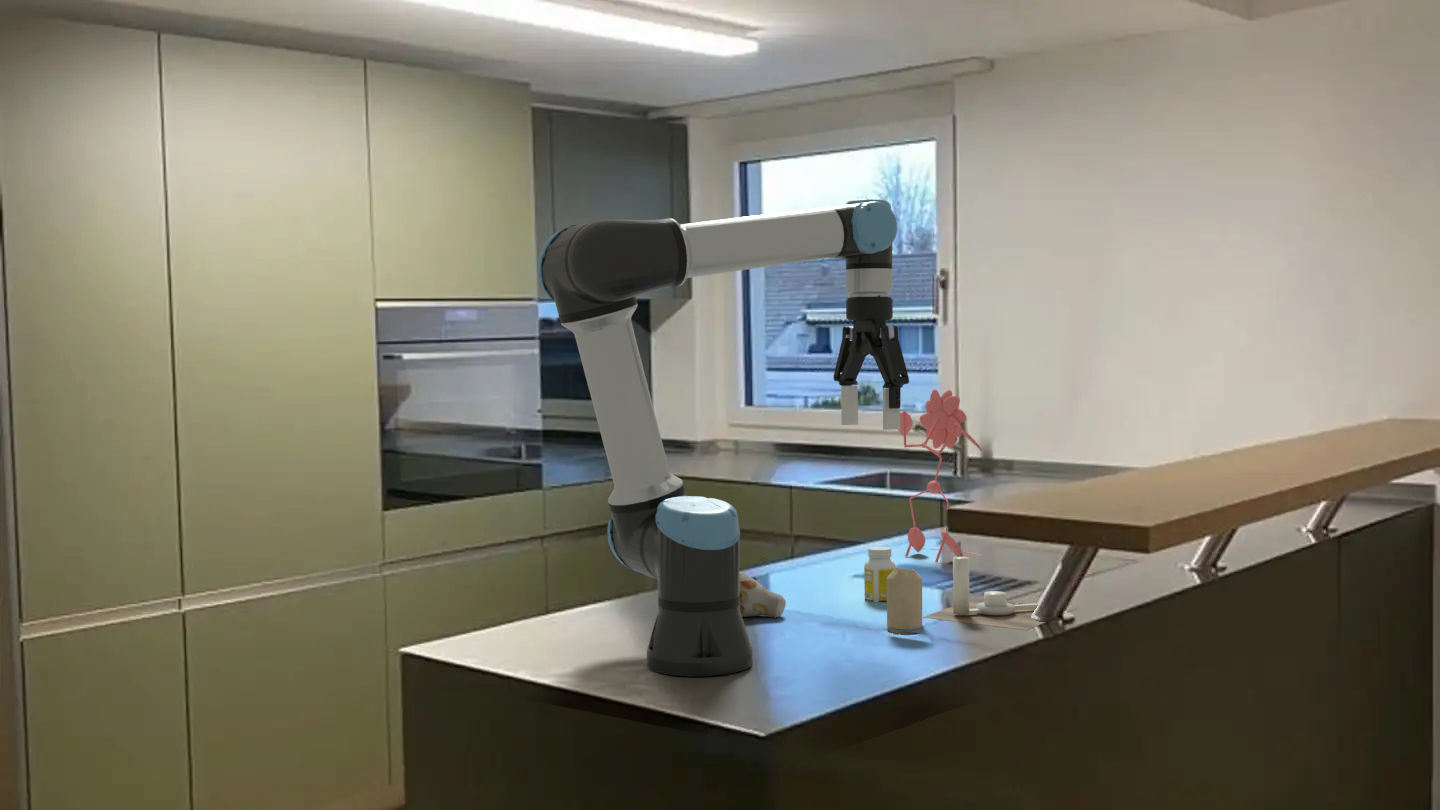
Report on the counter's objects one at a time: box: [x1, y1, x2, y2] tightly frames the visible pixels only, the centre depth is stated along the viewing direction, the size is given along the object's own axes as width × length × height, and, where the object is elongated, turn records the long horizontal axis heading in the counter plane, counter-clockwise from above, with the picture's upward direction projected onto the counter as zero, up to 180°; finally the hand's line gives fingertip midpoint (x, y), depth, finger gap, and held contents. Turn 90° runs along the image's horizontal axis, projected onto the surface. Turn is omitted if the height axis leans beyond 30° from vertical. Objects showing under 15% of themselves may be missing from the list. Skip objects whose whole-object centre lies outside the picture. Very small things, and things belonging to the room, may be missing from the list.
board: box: [922, 596, 1078, 631], centre depth 228 cm, size 20×18×1 cm
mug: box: [739, 573, 786, 619], centre depth 232 cm, size 8×10×10 cm
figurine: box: [897, 389, 984, 563], centre depth 290 cm, size 15×26×35 cm, turn 35°
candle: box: [886, 567, 923, 636], centre depth 219 cm, size 6×6×10 cm
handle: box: [952, 556, 1039, 615], centre depth 227 cm, size 15×6×9 cm, turn 104°
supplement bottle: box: [863, 546, 897, 603], centre depth 241 cm, size 5×5×10 cm
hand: (870, 427), depth 227 cm, fingers open, 13 cm apart
